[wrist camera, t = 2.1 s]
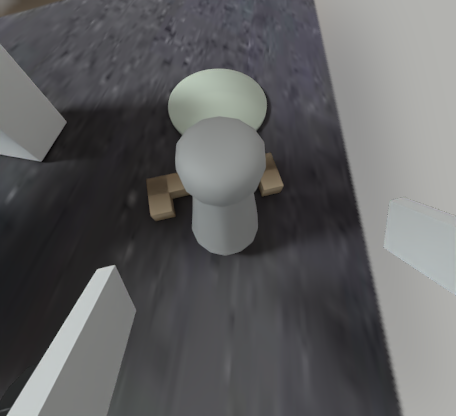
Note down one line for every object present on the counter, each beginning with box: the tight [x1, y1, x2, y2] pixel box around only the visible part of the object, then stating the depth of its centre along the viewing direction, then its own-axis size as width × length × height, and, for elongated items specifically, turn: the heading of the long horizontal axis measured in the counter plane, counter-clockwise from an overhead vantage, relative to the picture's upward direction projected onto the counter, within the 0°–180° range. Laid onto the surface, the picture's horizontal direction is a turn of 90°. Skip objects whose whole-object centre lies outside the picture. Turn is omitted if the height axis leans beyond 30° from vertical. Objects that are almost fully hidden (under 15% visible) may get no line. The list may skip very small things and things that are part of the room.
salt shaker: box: [175, 116, 266, 256], centre depth 15 cm, size 6×6×13 cm
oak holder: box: [146, 153, 284, 221], centre depth 22 cm, size 4×13×2 cm, turn 104°
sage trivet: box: [168, 69, 267, 135], centre depth 27 cm, size 12×12×1 cm
